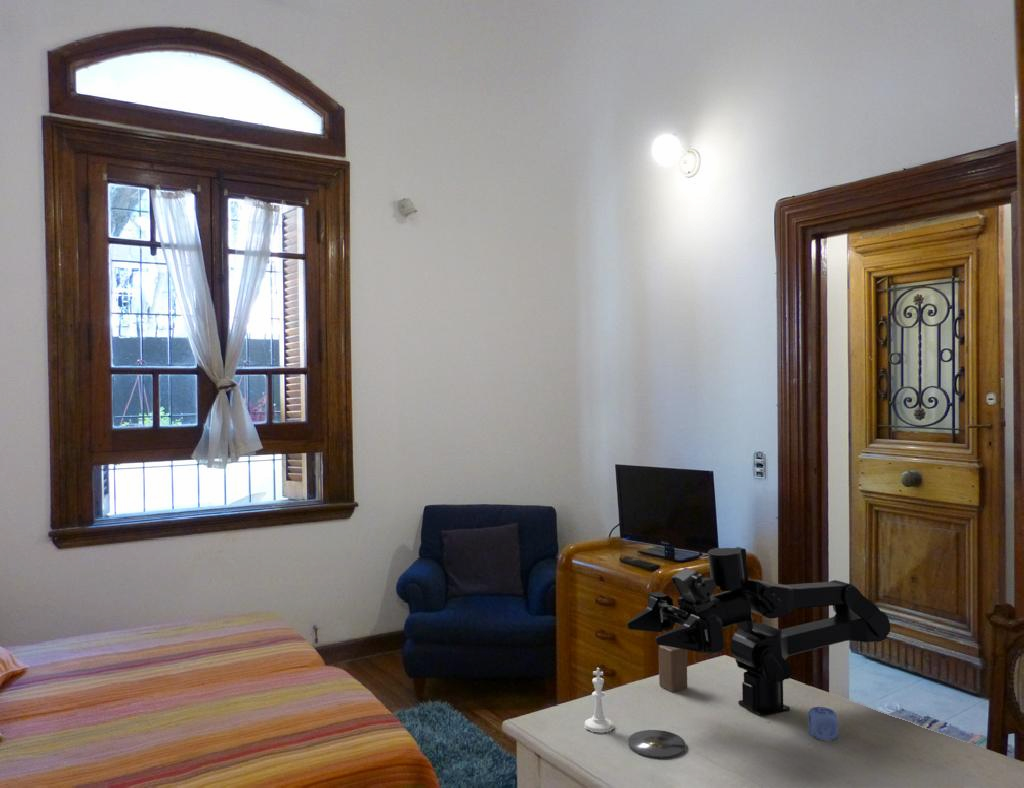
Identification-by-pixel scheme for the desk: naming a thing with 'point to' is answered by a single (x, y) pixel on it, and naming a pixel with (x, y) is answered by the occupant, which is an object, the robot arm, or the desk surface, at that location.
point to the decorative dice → (823, 723)
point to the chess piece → (598, 708)
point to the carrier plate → (656, 744)
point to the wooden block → (672, 668)
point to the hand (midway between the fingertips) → (641, 633)
